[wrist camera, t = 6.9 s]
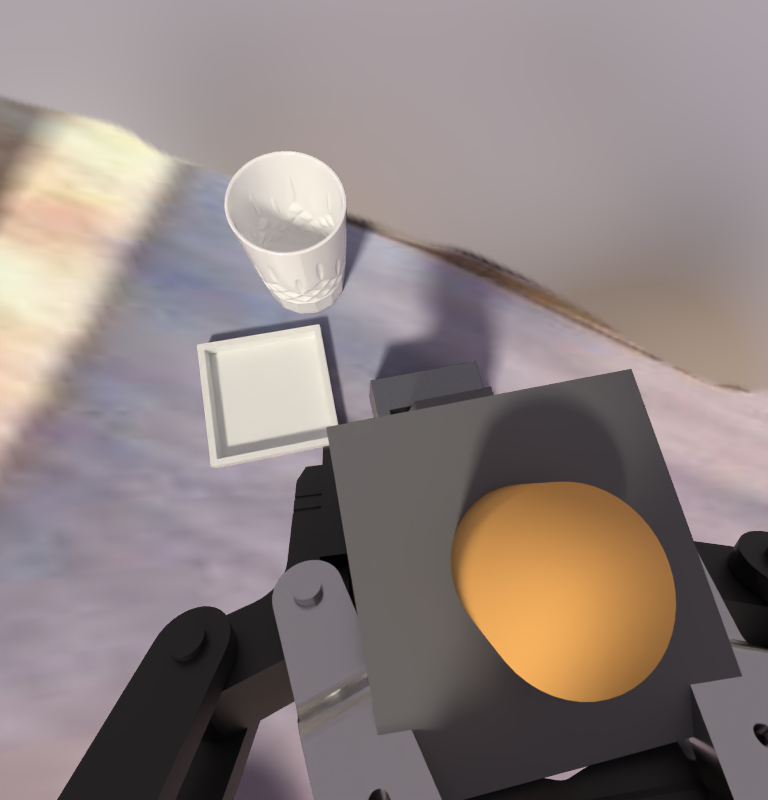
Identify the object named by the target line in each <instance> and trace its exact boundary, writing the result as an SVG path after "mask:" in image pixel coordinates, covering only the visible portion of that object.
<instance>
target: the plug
mask: <svg viewBox="0 0 768 800" xmlns="http://www.w3.org/2000/svg"><path fill="white" fill-rule="evenodd" d="M326 429H327V435H328V441H329V447H330V453H331V459H332V465H333V471H334V477H335V483H336V489H337V495H338V501H339V507H340V513H341V519H342V525H343V531H344V536H345V542H346V548H347V554H348V560H349V566H350V572H351V578H352V584H353V590H354V596H355V602H356V608H357V614H358V620H359V626H360V632H361V638H362V644H363V650H364V656H365V662H366V668H367V674H368V679H369V685H370V691H371V697H372V703H373V709H374V715H375V721H376V727H377V733H378V735H383V734H389V733H396V732H402V731H408V730H412V732H413V734H414V737H415V739H416V741H417V743H418V746H419V748H420V750H421V753H422V755H423V757H424V760H425V762H426V764H427V767H428V769H429V771H430V774H431V776H432V778H433V780H434V783H435V785H436V787H437V790H438V792H439V794H440V797H441V799H442V800H464V799H468V798H472V797H475V796H479V795H483V794H486V793H490V792H494V791H498V790H501V789H505V788H509V787H512V786H516V785H520V784H523V783H527V782H531V781H534V780H538V779H542V778H545V777H549V776H553V775H556V774H560V773H564V772H567V771H571V770H575V769H578V768H582V767H586V766H589V765H593V764H597V763H600V762H604V761H608V760H611V759H615V758H619V757H622V756H626V755H630V754H633V753H637V752H641V751H644V750H648V749H652V748H655V747H659V746H663V745H666V744H670V743H674V742H677V741H681V740H685V739H688V738H692V737H694V736H693V720H692V703H691V687H690V685H692V684H698V683H705V682H711V681H717V680H723V679H729V678H736V677H742V674H741V671H740V668H739V665H738V663H737V660H736V657H735V654H734V652H733V649H732V646H731V643H730V640H729V638H728V635H727V632H726V629H725V627H724V624H723V621H722V618H721V616H720V613H719V610H718V607H717V605H716V602H715V599H714V596H713V593H712V591H711V588H710V585H709V582H708V580H707V577H706V574H705V571H704V569H703V566H702V563H701V560H700V558H699V555H698V552H697V549H696V546H695V544H694V541H693V538H692V535H691V533H690V530H689V527H688V524H687V522H686V519H685V516H684V513H683V511H682V508H681V505H680V502H679V499H678V497H677V494H676V491H675V488H674V486H673V483H672V480H671V477H670V475H669V472H668V469H667V466H666V464H665V461H664V458H663V455H662V452H661V450H660V447H659V444H658V441H657V439H656V436H655V433H654V430H653V428H652V425H651V422H650V419H649V417H648V414H647V411H646V408H645V405H644V403H643V400H642V397H641V394H640V392H639V389H638V386H637V383H636V381H635V378H634V375H633V372H632V370H631V369H628V370H623V371H618V372H613V373H608V374H602V375H597V376H592V377H587V378H581V379H576V380H571V381H566V382H560V383H555V384H550V385H545V386H539V387H534V388H529V389H524V390H518V391H513V392H508V393H503V394H497V395H492V396H487V397H482V398H476V399H471V400H466V401H461V402H455V403H450V404H445V405H440V406H434V407H429V408H424V409H419V410H413V411H408V412H403V413H398V414H392V415H387V416H382V417H377V418H371V419H366V420H361V421H356V422H350V423H345V424H340V425H335V426H329V427H326Z"/></svg>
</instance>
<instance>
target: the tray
mask: <svg viewBox="0 0 768 800" xmlns="http://www.w3.org/2000/svg"><path fill="white" fill-rule="evenodd" d="M197 349H198V358H199V366H200V375H201V384H202V393H203V401H204V410H205V419H206V428H207V436H208V445H209V454H210V463H211V467H215V468H221V467H226V466H231V465H236V464H241V463H246V462H251V461H256V460H261V459H266V458H271V457H276V456H281V455H286V454H291V453H296V452H301V451H306V450H311V449H316V448H321V447H324V446H329V441H328V435H327V429H326V427H329V426H335V425H338V419H337V414H336V408H335V403H334V398H333V392H332V387H331V381H330V376H329V371H328V365H327V360H326V354H325V349H324V343H323V338H322V333H321V328H320V325H319V324H317V325H311V326H306V327H300V328H294V329H288V330H282V331H276V332H270V333H264V334H258V335H252V336H246V337H240V338H234V339H228V340H222V341H216V342H211V343H205V344H199V345H197Z"/></svg>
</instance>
